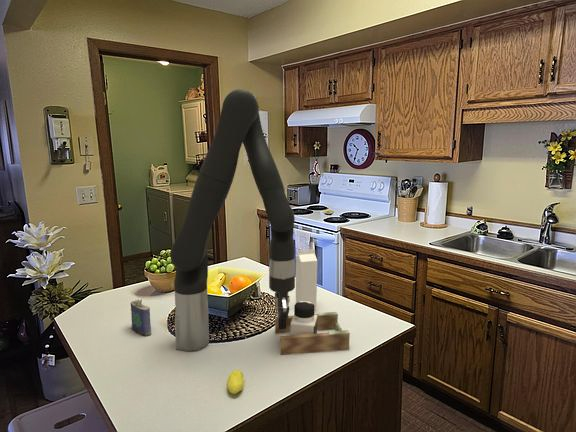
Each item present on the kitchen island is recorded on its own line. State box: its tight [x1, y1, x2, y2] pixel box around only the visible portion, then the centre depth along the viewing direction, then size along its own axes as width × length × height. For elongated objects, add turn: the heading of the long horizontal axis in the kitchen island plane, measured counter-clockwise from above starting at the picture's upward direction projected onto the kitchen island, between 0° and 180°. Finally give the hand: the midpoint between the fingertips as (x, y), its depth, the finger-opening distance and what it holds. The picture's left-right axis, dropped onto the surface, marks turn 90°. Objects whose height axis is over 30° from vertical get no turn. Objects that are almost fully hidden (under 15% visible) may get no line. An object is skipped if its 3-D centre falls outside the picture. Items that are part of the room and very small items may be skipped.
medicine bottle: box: [289, 301, 318, 335], centre depth 117 cm, size 7×7×12 cm
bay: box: [274, 311, 351, 356], centre depth 118 cm, size 20×14×5 cm
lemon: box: [226, 369, 245, 395], centre depth 95 cm, size 4×8×4 cm, turn 178°
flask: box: [130, 298, 152, 337], centre depth 122 cm, size 9×3×11 cm, turn 50°
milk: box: [295, 249, 318, 312], centre depth 138 cm, size 6×6×22 cm
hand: (282, 328), depth 116 cm, fingers closed
